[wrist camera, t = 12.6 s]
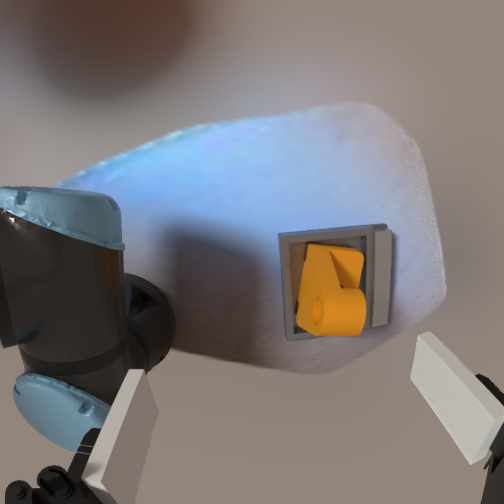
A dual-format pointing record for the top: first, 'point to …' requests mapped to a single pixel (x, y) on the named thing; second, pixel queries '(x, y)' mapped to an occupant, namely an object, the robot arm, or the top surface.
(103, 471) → the robot arm
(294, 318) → the tray
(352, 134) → the top surface
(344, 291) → the bracket
